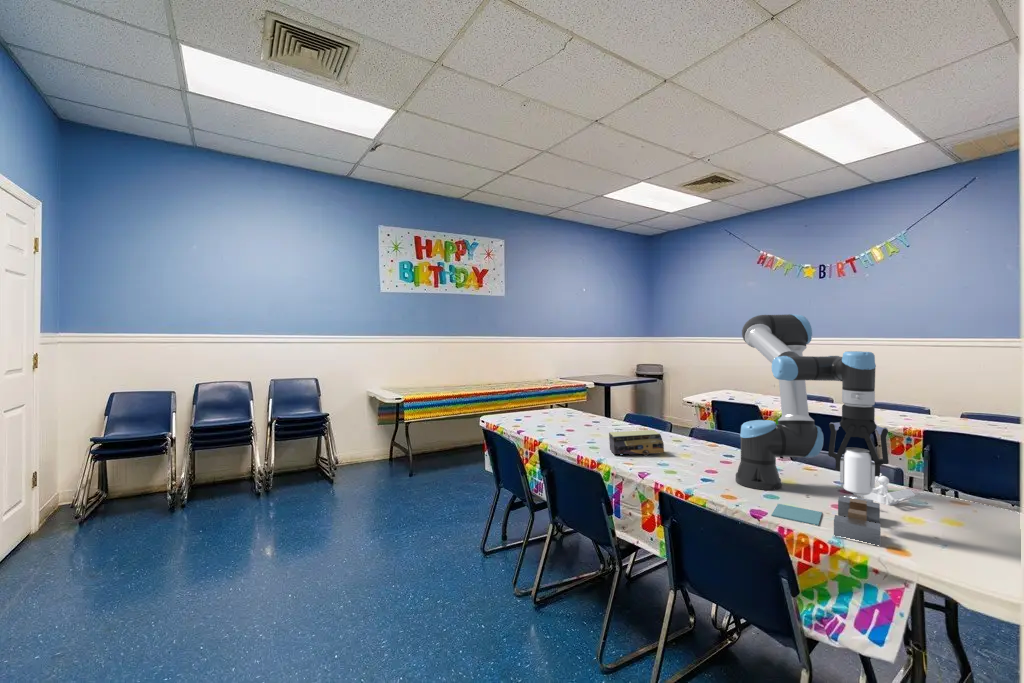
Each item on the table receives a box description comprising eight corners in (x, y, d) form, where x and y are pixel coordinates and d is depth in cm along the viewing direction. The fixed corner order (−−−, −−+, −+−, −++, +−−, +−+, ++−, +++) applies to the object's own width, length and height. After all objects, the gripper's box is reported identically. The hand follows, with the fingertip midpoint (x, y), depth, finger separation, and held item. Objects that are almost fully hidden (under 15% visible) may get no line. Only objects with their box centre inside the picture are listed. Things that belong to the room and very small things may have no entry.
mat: (777, 504, 150) (777, 503, 150) (822, 513, 142) (822, 512, 142) (771, 515, 140) (771, 514, 140) (818, 525, 133) (818, 524, 133)
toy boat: (852, 487, 168) (852, 463, 168) (916, 505, 149) (916, 478, 149) (830, 490, 164) (830, 466, 164) (893, 510, 145) (893, 482, 145)
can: (838, 488, 134) (838, 448, 134) (852, 486, 136) (853, 446, 136) (861, 496, 128) (862, 453, 128) (876, 493, 130) (877, 451, 130)
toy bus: (664, 455, 212) (663, 433, 212) (614, 458, 212) (613, 436, 212) (657, 450, 222) (656, 429, 222) (609, 452, 222) (608, 432, 222)
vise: (840, 503, 151) (840, 485, 151) (879, 510, 145) (879, 491, 145) (833, 536, 126) (833, 514, 126) (880, 546, 119) (880, 524, 119)
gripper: (816, 403, 135) (815, 480, 135) (903, 410, 123) (901, 495, 123) (818, 400, 141) (818, 474, 141) (901, 406, 129) (900, 487, 129)
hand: (857, 484), depth 132 cm, fingers closed on can, 6 cm apart
